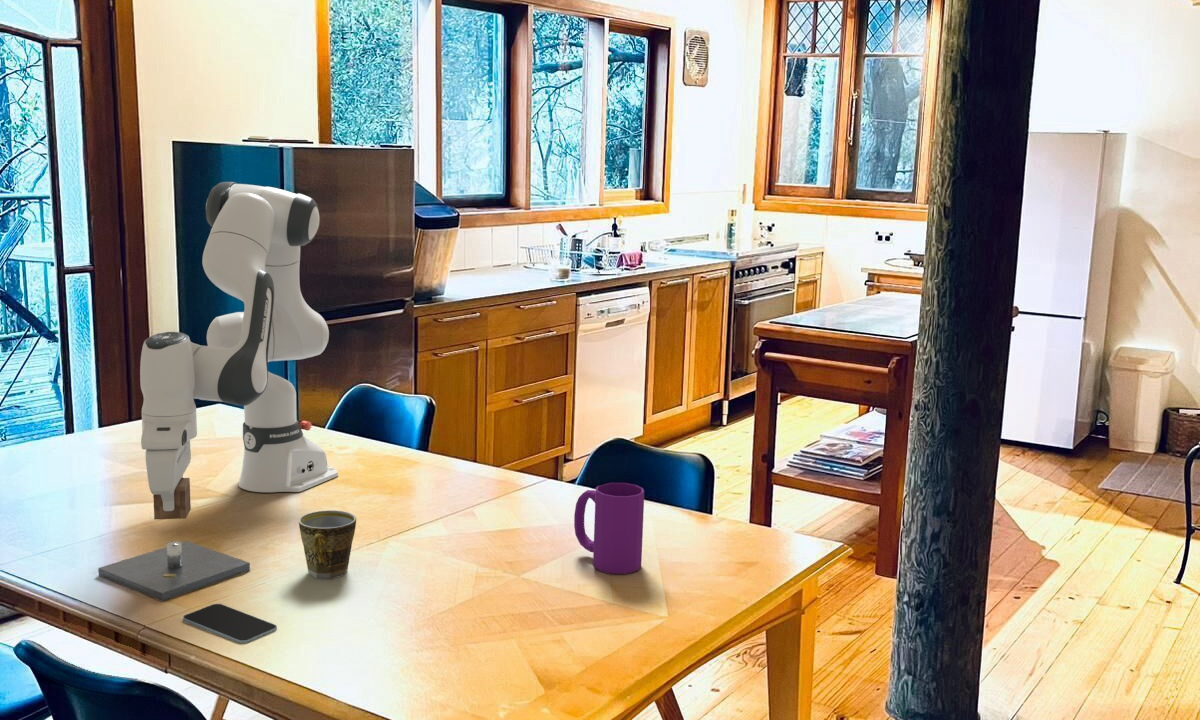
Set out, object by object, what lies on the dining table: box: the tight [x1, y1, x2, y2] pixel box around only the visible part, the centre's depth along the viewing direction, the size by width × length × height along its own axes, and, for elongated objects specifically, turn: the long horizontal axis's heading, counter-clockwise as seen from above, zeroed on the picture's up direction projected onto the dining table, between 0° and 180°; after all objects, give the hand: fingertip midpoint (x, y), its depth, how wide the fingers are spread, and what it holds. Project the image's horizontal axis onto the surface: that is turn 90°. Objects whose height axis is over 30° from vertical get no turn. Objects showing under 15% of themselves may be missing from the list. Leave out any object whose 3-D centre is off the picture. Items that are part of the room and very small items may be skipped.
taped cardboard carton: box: [152, 477, 192, 520], centre depth 200 cm, size 5×5×6 cm
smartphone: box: [182, 603, 278, 645], centre depth 183 cm, size 7×1×15 cm
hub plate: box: [98, 540, 251, 602], centre depth 202 cm, size 18×18×6 cm
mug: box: [573, 482, 645, 575], centre depth 214 cm, size 9×16×15 cm, turn 47°
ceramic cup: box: [298, 509, 357, 580], centre depth 204 cm, size 13×10×10 cm
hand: (172, 503), depth 201 cm, fingers closed on taped cardboard carton, 5 cm apart
